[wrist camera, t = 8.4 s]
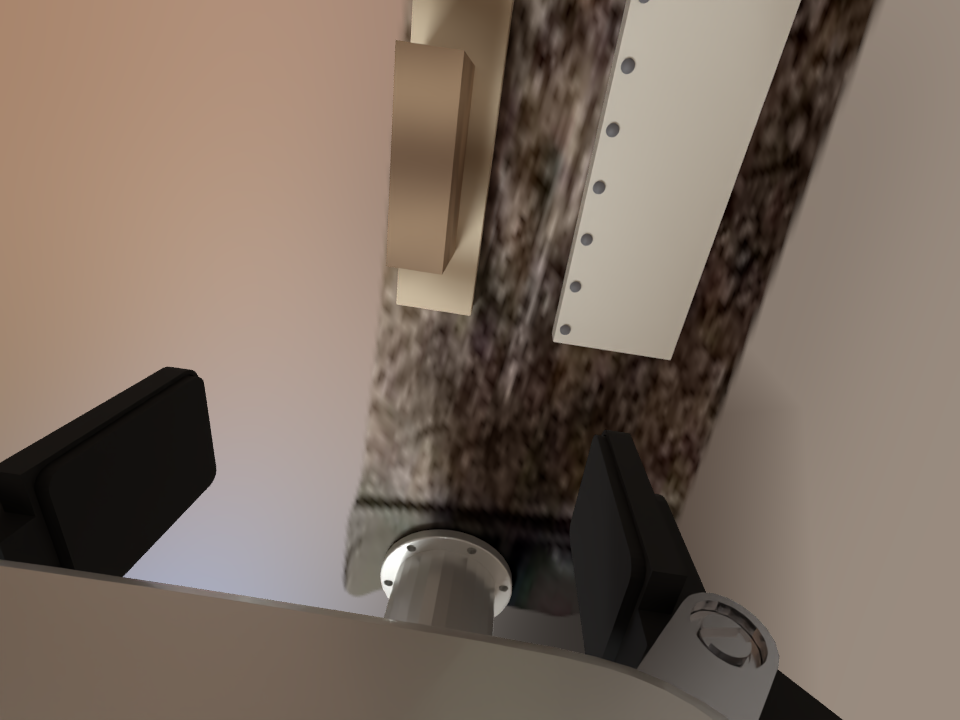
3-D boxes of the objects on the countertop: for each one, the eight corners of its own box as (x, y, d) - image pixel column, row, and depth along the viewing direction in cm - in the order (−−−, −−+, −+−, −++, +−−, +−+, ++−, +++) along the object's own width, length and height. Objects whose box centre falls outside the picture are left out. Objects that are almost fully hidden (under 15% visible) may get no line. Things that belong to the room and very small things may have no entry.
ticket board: (664, 350, 32) (670, 360, 31) (551, 333, 32) (553, 342, 31) (788, -1, 23) (805, -10, 22) (631, -24, 23) (639, -34, 22)
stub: (472, 308, 32) (461, 347, 26) (401, 297, 32) (374, 333, 26) (516, -17, 24) (514, -66, 18) (421, -31, 24) (388, -84, 18)
